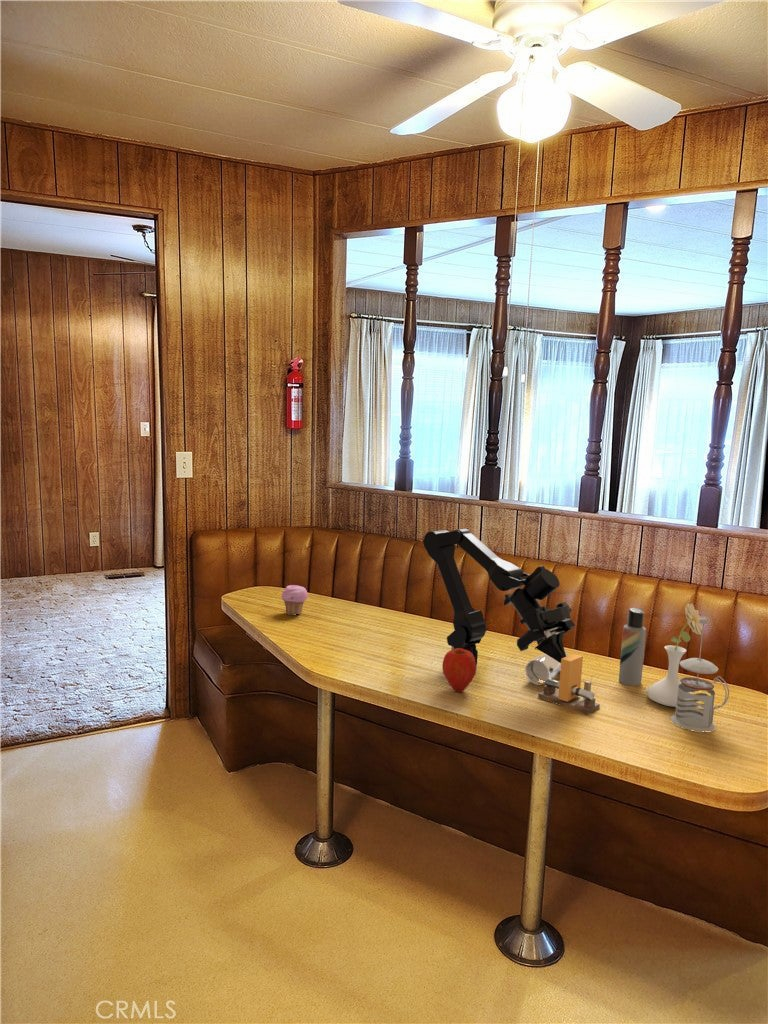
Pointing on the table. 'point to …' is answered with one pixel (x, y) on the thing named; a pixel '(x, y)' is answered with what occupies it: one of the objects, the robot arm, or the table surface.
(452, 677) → the red strawberry
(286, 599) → the cupcake
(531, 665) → the beer glass
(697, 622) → the flower in vase
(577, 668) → the collar
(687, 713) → the french press
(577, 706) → the pipe board
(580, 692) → the steel pipe
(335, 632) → the table surface
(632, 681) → the lotion bottle
